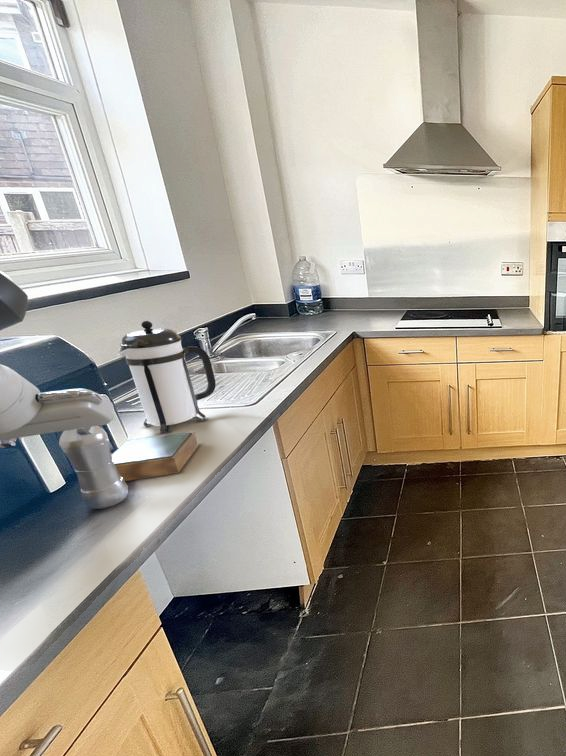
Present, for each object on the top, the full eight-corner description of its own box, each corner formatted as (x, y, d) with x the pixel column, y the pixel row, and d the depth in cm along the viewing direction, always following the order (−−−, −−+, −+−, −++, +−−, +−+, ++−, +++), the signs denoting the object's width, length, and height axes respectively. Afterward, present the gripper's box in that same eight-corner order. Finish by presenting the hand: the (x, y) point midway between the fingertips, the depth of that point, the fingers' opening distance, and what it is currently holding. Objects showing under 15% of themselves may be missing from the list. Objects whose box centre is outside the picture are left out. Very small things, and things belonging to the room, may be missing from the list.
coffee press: (196, 431, 116) (166, 325, 106) (129, 436, 112) (92, 327, 102) (223, 407, 132) (199, 313, 121) (166, 411, 128) (136, 315, 118)
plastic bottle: (128, 505, 84) (95, 415, 77) (82, 517, 80) (43, 423, 73) (133, 490, 89) (102, 404, 82) (90, 501, 85) (54, 411, 78)
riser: (102, 484, 91) (95, 467, 89) (131, 455, 103) (126, 439, 102) (178, 472, 95) (173, 456, 94) (198, 445, 108) (194, 430, 106)
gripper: (91, 371, 63) (130, 408, 75) (-116, 394, 54) (-36, 432, 66) (90, 408, 61) (130, 440, 73) (-126, 438, 52) (-42, 469, 64)
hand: (50, 436), depth 69 cm, fingers open, 8 cm apart
